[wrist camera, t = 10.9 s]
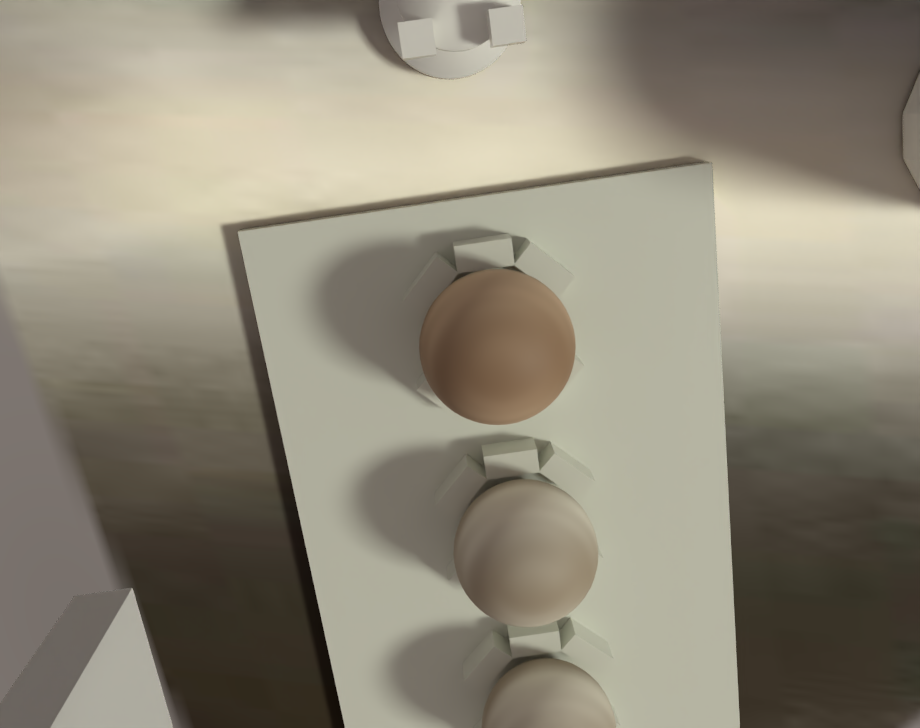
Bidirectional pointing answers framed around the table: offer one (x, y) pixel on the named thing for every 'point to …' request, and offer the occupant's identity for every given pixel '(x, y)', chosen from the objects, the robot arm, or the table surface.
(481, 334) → the light brown ball
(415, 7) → the egg cup
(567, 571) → the egg cream mid
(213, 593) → the table surface
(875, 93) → the table surface
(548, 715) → the pale ball
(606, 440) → the tray
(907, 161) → the white cup
